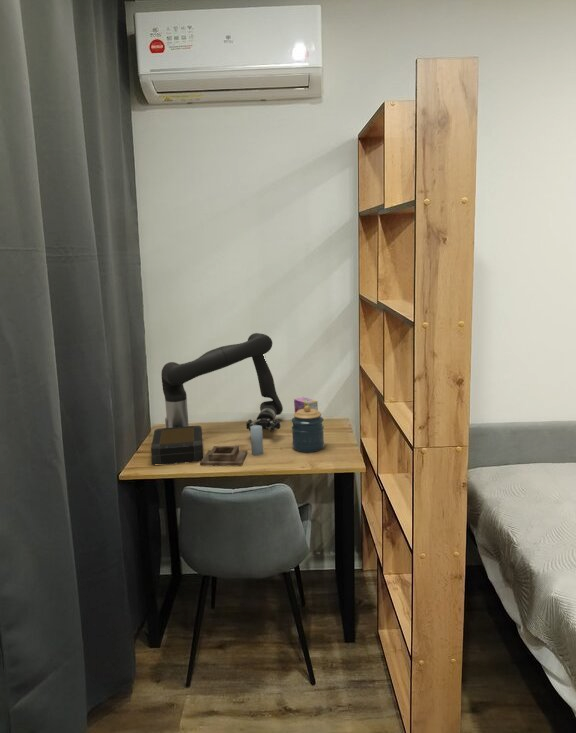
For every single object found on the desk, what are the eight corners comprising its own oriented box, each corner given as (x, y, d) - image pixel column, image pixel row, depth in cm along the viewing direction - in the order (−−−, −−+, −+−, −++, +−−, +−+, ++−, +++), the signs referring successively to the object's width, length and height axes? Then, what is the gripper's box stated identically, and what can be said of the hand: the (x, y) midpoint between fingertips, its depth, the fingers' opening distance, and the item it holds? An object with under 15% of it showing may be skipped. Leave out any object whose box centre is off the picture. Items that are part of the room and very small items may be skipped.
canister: (322, 453, 241) (321, 410, 238) (290, 452, 243) (288, 410, 240) (325, 442, 254) (324, 401, 250) (295, 441, 256) (293, 401, 252)
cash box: (154, 445, 258) (152, 428, 257) (202, 441, 261) (201, 424, 260) (150, 466, 234) (148, 447, 232) (203, 462, 237) (202, 443, 235)
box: (294, 423, 281) (293, 398, 279) (304, 421, 285) (303, 396, 282) (308, 428, 273) (308, 403, 271) (318, 426, 277) (317, 400, 274)
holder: (200, 465, 232) (199, 456, 232) (208, 453, 246) (207, 444, 245) (241, 465, 231) (240, 456, 230) (247, 453, 244) (247, 444, 243)
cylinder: (250, 455, 242) (249, 428, 240) (252, 451, 246) (251, 425, 244) (262, 455, 241) (261, 428, 239) (263, 451, 246) (262, 425, 244)
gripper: (250, 410, 270) (243, 421, 254) (282, 410, 269) (277, 420, 253) (251, 426, 272) (244, 438, 256) (282, 426, 270) (278, 438, 254)
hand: (261, 429), depth 254 cm, fingers open, 8 cm apart
